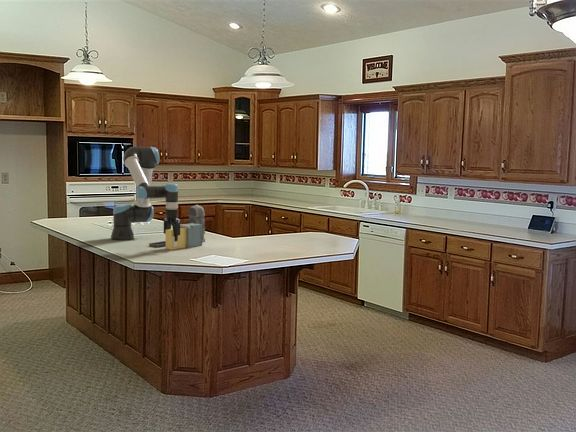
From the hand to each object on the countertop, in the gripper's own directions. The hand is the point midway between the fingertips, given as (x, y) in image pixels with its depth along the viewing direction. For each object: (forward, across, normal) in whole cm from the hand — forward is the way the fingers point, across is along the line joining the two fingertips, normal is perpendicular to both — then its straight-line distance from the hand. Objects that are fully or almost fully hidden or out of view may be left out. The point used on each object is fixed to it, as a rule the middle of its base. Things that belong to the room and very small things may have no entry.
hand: (171, 245), depth 377 cm
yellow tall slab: (+2, 0, +4) cm, 4 cm away
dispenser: (+2, 0, +16) cm, 16 cm away
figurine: (+2, -11, +33) cm, 35 cm away
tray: (+2, -14, +6) cm, 15 cm away
